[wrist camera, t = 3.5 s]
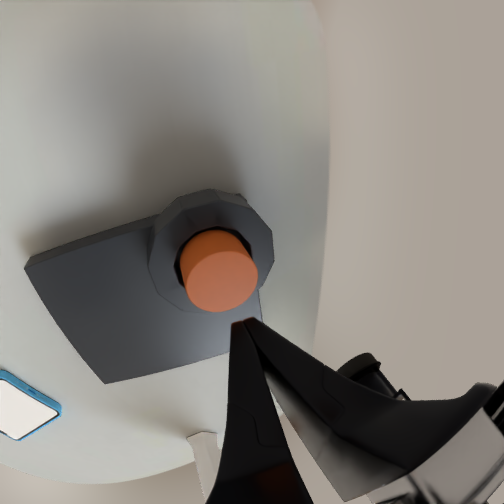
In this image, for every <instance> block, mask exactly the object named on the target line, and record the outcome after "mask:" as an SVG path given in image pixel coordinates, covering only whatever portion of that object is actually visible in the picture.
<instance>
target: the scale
mask: <svg viewBox="0 0 504 504" xmlns="http://www.w3.org/2000/svg"><path fill="white" fill-rule="evenodd" d="M209 230H222V231H226V232H229V233H231V234H233V235H234V236H236V237H237V238H238V239H239V241H240V242H241V243H242V245H243V246H244V248H245V249H246V251H247V252H248V254H249V255H250V257H251V258H252V260H253V261H254V263H255V265H256V267H257V271H258V281H257V285H256V287H255V289H254V291H253V293H252V294H251V296H250V297H249V298H248V299H247V300H246V301H245V302H243V303H242V304H241V305H239V306H237V307H235V308H233V309H230V310H227V311H223V312H210V311H205V310H202V309H200V308H198V307H197V306H195V305H194V304H193V303H192V302H191V301H190V299H189V298H188V296H187V293H186V289H185V285H184V281H183V277H182V272H181V268H180V256H181V253H182V250H183V249H184V247H185V245H186V244H187V243H188V242H189V241H190V240H191V239H192V238H193V237H195V236H196V235H198V234H200V233H202V232H205V231H209ZM273 263H274V249H273V237H272V231H271V229H270V228H269V227H268V226H267V225H266V223H265V222H264V221H263V220H262V219H261V218H260V216H259V215H258V214H257V213H256V212H255V210H254V209H253V208H252V207H251V206H250V205H249V204H248V203H247V200H246V199H245V198H244V197H243V196H242V195H241V194H235V195H232V194H229V193H225V192H222V191H218V190H215V189H208V190H204V191H200V192H196V193H192V194H188V195H184V196H180V197H178V198H177V199H176V200H175V201H174V202H172V203H171V204H170V205H169V206H168V207H167V208H166V209H165V210H164V211H163V212H162V213H161V214H159V215H155V216H152V217H148V218H145V219H142V220H138V221H135V222H132V223H129V224H125V225H122V226H119V227H116V228H113V229H110V230H106V231H103V232H100V233H97V234H94V235H91V236H88V237H85V238H83V239H80V240H77V241H74V242H71V243H68V244H65V245H63V246H60V247H57V248H54V249H52V250H49V251H46V252H44V253H41V254H39V255H36V256H33V257H31V258H30V259H29V260H28V262H27V264H26V265H25V267H24V270H25V272H26V274H27V275H28V277H29V279H30V281H31V283H32V284H33V286H34V288H35V290H36V291H37V293H38V295H39V296H40V298H41V300H42V301H43V303H44V305H45V306H46V308H47V309H48V311H49V313H50V314H51V316H52V317H53V319H54V320H55V322H56V323H57V325H58V326H59V327H60V329H61V330H62V332H63V333H64V335H65V336H66V337H67V339H68V340H69V341H70V343H71V344H72V345H73V347H74V348H75V349H76V351H77V352H78V353H79V354H80V356H81V357H82V358H83V359H84V361H85V362H86V363H87V364H88V366H89V367H90V368H91V369H92V370H93V372H94V373H95V374H96V375H97V376H98V377H99V379H100V380H101V381H102V382H103V383H104V384H109V383H114V382H119V381H123V380H128V379H132V378H137V377H141V376H145V375H150V374H154V373H158V372H162V371H166V370H169V369H173V368H177V367H181V366H184V365H188V364H191V363H195V362H198V361H202V360H205V359H208V358H212V357H215V356H218V355H221V354H225V353H228V352H230V332H231V324H232V323H233V322H236V321H240V320H242V321H243V319H246V318H249V317H252V316H253V317H255V318H257V319H258V320H260V321H261V322H262V314H261V306H260V299H259V291H258V289H259V288H260V287H261V286H263V284H264V282H265V280H266V278H267V275H268V273H269V271H270V269H271V267H272V265H273ZM262 323H263V322H262Z"/></svg>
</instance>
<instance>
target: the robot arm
mask: <svg viewBox="0 0 504 504" xmlns="http://www.w3.org/2000/svg"><path fill="white" fill-rule="evenodd" d="M380 365H381V362H379V361H378V362H376V363H374V364H373V365H371V366H369V367H367V368H366V369H364V370H362V371H360V372H358V373H356V374H355V375H353V376H351V377H349V378H346V377H344V376H343V375H341V374H339V373H338V372H336V371H334V370H333V369H331V368H329V367H328V366H326V365H324V364H323V363H322V362H320V361H318V360H317V359H315V358H314V357H312V356H311V355H309V354H308V353H306V352H305V351H303V350H302V349H300V348H299V347H297V346H296V345H294V344H293V343H291V342H290V341H288V340H287V339H285V338H284V337H283V336H281V335H280V334H278V333H277V332H275V331H274V330H272V329H271V328H270V327H268V326H267V325H265V324H264V323H262V322H261V321H260V320H258V319H257V318H255V317H253V316H252V317H249V318H246V319H243V321H242V320H240V321H236V322H233V323H232V324H231V332H230V354H229V378H228V403H227V421H226V430H225V437H224V442H223V448H222V453H221V458H220V463H219V468H218V473H217V476H216V480H215V483H214V486H213V488H212V490H211V493H210V495H209V497H208V499H207V501H206V503H205V504H314V503H313V501H312V499H311V497H310V495H309V493H308V491H307V489H306V486H305V484H304V482H303V480H302V478H301V476H300V474H299V471H298V469H297V467H296V465H295V463H294V460H293V458H292V455H291V452H290V450H289V447H288V444H287V441H286V438H285V435H284V432H283V429H282V426H281V423H280V420H279V417H278V414H277V411H276V408H275V405H274V402H273V398H272V395H271V392H272V394H273V395H274V397H275V399H276V400H277V402H278V404H279V405H280V407H281V409H282V410H283V412H284V413H285V415H286V417H287V418H288V420H289V421H290V423H291V425H292V426H293V428H294V429H295V431H296V432H297V434H298V436H299V437H300V439H301V440H302V442H303V443H304V445H305V446H306V448H307V449H308V451H309V452H310V454H311V455H312V457H313V458H314V460H315V461H316V463H317V464H318V466H319V467H320V469H321V470H322V472H323V473H324V475H325V476H326V478H327V479H328V480H329V482H330V483H331V484H332V486H333V487H334V489H335V490H336V492H337V493H338V494H339V496H340V497H341V499H342V500H343V501H344V502H347V501H349V500H352V499H355V498H357V497H360V496H362V495H365V494H366V495H367V497H368V498H369V500H370V501H371V503H372V504H489V503H488V502H487V499H488V498H489V497H490V496H491V495H492V494H493V493H494V492H495V490H496V489H497V488H498V487H499V486H500V484H501V483H502V482H503V481H504V380H503V382H502V383H501V384H500V385H499V386H498V388H497V387H496V386H494V385H492V384H489V383H476V384H475V385H474V386H473V387H472V388H471V389H470V390H469V391H468V392H467V393H466V394H465V395H463V396H461V397H458V398H455V399H449V400H426V401H424V400H420V401H411V400H410V398H409V397H408V396H407V395H406V393H405V392H404V391H403V390H402V389H400V390H399V391H398V392H397V391H396V390H395V389H394V387H393V386H392V385H391V384H390V382H389V381H388V380H387V378H386V377H385V376H384V375H383V373H382V372H381V371H380V370H379V367H380ZM270 390H271V392H270ZM402 399H404V400H402ZM503 504H504V503H503Z"/></svg>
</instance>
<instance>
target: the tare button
mask: <svg viewBox="0 0 504 504" xmlns="http://www.w3.org/2000/svg"><path fill="white" fill-rule="evenodd" d="M180 268H181V272H182V277H183V281H184V285H185V289H186V293H187V296H188V298H189V299H190V301H191V302H192V303H193V304H194V305H195V306H197V307H198V308H200V309H202V310H205V311H210V312H223V311H227V310H230V309H233V308H235V307H237V306H239V305H241V304H242V303H243V302H245V301H246V300H247V299H248V298H249V297H250V296H251V294H252V293H253V291H254V289H255V287H256V285H257V281H258V271H257V267H256V265H255V263H254V261H253V260H252V258H251V257H250V255H249V254H248V252H247V251H246V249H245V248H244V246H243V245H242V243H241V242H240V241H239V239H238V238H237V237H236V236H234V235H233V234H231V233H229V232H226V231H222V230H209V231H205V232H202V233H200V234H198V235H196V236H195V237H193V238H192V239H191V240H190V241H189V242H188V243H187V244H186V245H185V247H184V249H183V250H182V253H181V256H180Z"/></svg>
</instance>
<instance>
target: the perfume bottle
mask: <svg viewBox="0 0 504 504" xmlns="http://www.w3.org/2000/svg"><path fill="white" fill-rule="evenodd" d="M187 440H188V442H189V443H190V445H191V447H192V449H193V453H194V458H195V462H196V466H197V471H198V475H199V479H200V484H201V487H202V492H203V495H204V499H205V503H206V501H207V499H208V497H209V495H210V493H211V490H212V488H213V486H214V483H215V480H216V476H217V473H218V468H219V463H220V458H221V451H220V449H219V447H218V442H217V434H216V433H209V432H200V433H198V434H195V435H193V436H190V437H188V438H187Z"/></svg>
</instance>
